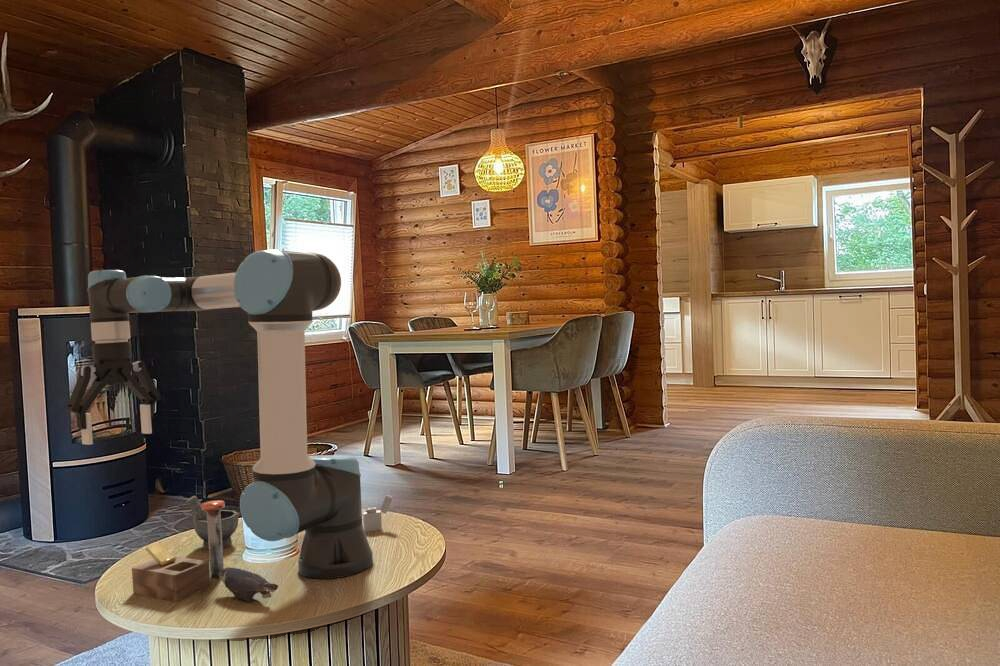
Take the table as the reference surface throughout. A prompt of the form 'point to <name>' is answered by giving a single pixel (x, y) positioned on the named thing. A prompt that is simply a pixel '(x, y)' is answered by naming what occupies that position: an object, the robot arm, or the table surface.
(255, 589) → the bird model
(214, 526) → the red-capped peg
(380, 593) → the table surface
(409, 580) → the table surface
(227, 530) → the mortar and pestle
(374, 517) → the lighter
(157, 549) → the golden rectangular bar
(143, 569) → the block
